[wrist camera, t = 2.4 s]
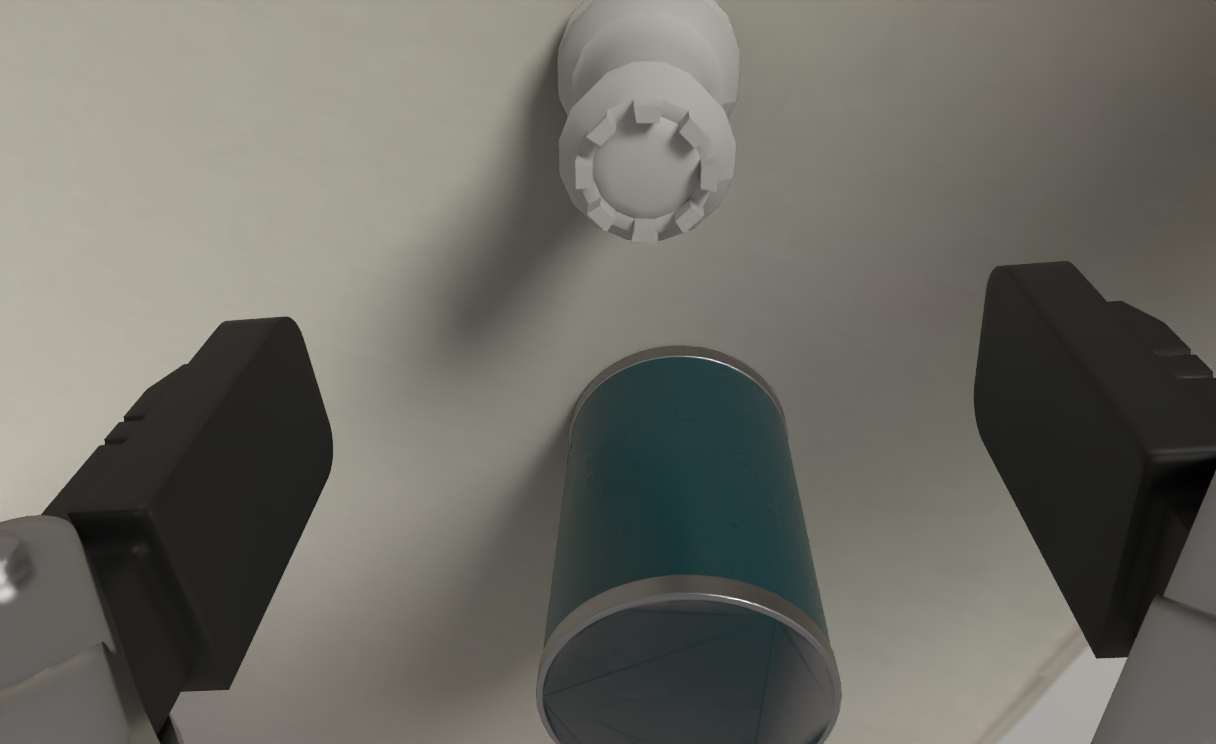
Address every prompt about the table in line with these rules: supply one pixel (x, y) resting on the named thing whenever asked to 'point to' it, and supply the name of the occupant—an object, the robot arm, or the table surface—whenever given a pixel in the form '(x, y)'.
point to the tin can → (684, 566)
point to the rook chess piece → (647, 114)
